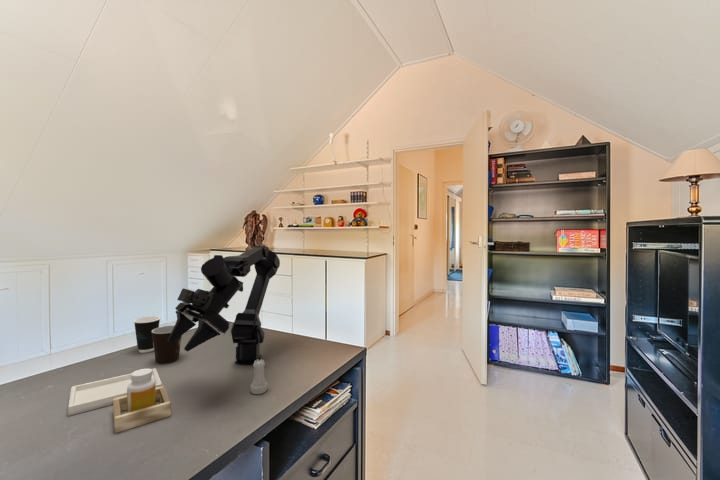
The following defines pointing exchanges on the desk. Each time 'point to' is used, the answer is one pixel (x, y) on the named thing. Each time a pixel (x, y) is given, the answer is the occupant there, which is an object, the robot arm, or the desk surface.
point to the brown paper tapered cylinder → (165, 345)
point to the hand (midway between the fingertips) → (177, 345)
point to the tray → (101, 393)
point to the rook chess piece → (258, 378)
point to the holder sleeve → (140, 411)
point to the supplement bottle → (141, 390)
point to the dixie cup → (145, 332)
